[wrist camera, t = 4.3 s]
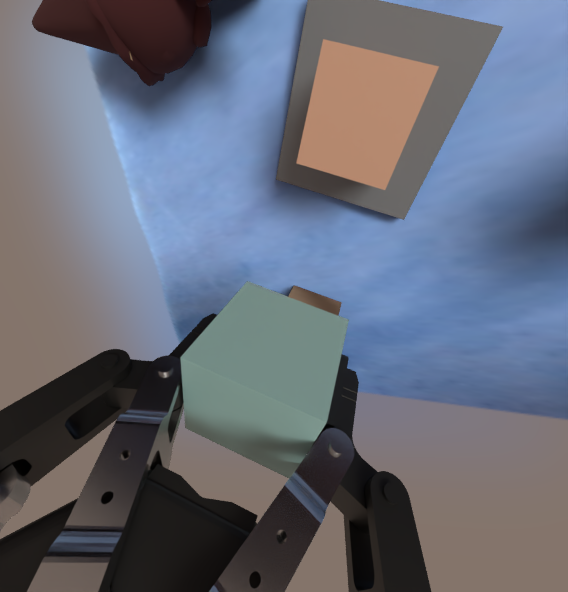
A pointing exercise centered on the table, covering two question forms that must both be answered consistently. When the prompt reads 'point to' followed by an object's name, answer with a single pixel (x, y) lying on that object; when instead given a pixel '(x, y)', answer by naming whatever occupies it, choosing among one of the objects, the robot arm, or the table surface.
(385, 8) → the plate
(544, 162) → the table surface
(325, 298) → the walnut brick
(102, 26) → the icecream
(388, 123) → the base brick
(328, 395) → the teal brick
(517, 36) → the table surface
